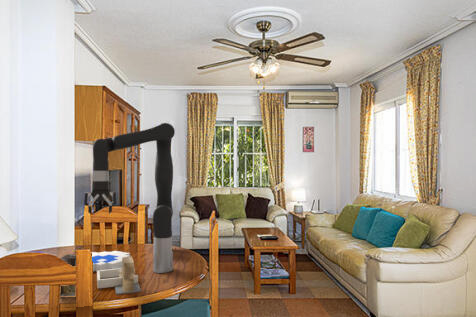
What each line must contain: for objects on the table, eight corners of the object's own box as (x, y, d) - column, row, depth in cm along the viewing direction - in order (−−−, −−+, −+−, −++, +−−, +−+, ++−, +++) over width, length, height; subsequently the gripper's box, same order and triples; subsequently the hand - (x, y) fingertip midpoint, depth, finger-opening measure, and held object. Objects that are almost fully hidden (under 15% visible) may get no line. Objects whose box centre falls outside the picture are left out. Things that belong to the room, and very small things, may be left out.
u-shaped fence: (134, 273, 171) (134, 266, 171) (137, 283, 157) (138, 275, 157) (97, 278, 164) (97, 270, 164) (97, 288, 150) (97, 280, 150)
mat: (138, 283, 156) (138, 282, 156) (140, 291, 147) (140, 290, 147) (114, 286, 153) (114, 285, 153) (116, 294, 143) (116, 293, 143)
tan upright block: (131, 283, 155) (131, 256, 156) (133, 290, 146) (134, 262, 146) (121, 284, 154) (122, 257, 154) (123, 292, 145) (124, 263, 145)
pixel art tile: (140, 254, 193) (99, 267, 168) (140, 262, 193) (99, 276, 168) (105, 249, 206) (62, 260, 181) (105, 255, 206) (61, 267, 181)
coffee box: (88, 292, 146) (89, 253, 146) (82, 298, 140) (82, 257, 140) (66, 292, 146) (67, 253, 146) (59, 298, 139) (59, 257, 140)
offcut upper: (118, 275, 162) (118, 270, 162) (133, 273, 165) (133, 268, 165) (119, 278, 158) (119, 272, 158) (135, 276, 161) (135, 270, 162)
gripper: (115, 179, 174) (115, 212, 174) (84, 179, 168) (84, 213, 168) (116, 180, 167) (116, 214, 167) (84, 180, 161) (83, 215, 161)
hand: (100, 213), depth 167 cm, fingers open, 8 cm apart
